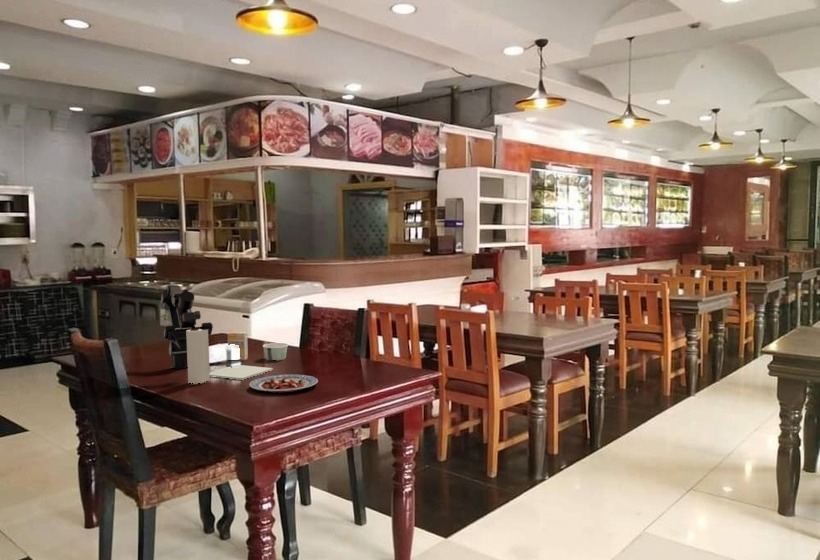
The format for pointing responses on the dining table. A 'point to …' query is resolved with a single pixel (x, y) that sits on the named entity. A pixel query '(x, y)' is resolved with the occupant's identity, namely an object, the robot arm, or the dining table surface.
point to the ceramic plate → (283, 383)
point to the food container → (275, 351)
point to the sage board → (240, 372)
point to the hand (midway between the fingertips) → (192, 346)
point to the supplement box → (239, 342)
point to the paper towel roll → (197, 356)
